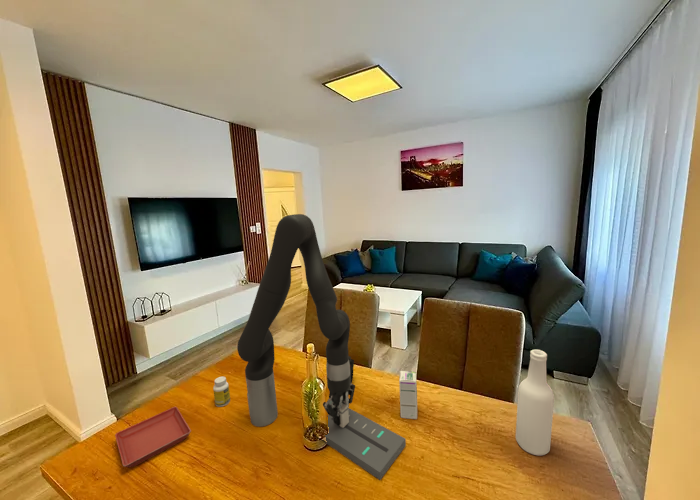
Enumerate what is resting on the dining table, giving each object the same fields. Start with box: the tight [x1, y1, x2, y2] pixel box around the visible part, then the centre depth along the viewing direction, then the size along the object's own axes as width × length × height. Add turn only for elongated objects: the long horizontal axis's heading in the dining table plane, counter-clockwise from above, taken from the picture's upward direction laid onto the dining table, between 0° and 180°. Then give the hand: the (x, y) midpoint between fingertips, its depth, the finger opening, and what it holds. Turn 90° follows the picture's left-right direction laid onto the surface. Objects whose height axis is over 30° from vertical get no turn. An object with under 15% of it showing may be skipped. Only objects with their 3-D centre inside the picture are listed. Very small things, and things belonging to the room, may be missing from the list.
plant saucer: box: [114, 406, 192, 468], centre depth 97 cm, size 18×18×3 cm
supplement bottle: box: [212, 376, 231, 408], centre depth 113 cm, size 5×5×10 cm
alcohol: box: [515, 348, 555, 457], centre depth 86 cm, size 9×9×30 cm
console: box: [325, 407, 407, 481], centre depth 93 cm, size 26×14×3 cm, turn 50°
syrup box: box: [398, 370, 418, 420], centre depth 103 cm, size 6×6×14 cm
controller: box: [349, 356, 355, 384], centre depth 121 cm, size 4×12×10 cm, turn 169°
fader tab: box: [335, 403, 349, 428], centre depth 97 cm, size 4×3×6 cm
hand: (341, 420), depth 97 cm, fingers closed on fader tab, 3 cm apart
